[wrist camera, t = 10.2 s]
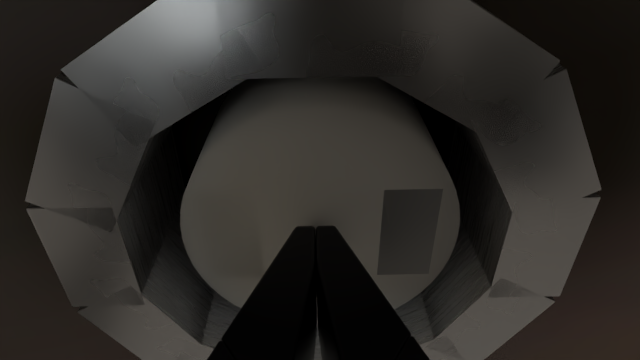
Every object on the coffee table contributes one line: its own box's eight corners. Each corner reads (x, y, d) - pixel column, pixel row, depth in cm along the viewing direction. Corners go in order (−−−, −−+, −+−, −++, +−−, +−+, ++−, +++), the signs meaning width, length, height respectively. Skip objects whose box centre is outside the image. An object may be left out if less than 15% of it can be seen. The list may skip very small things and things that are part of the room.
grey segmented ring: (161, 294, 15) (120, 407, 12) (55, -58, 9) (-87, -29, 6) (472, 287, 15) (516, 398, 12) (562, -66, 9) (699, -41, 6)
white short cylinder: (226, 238, 14) (203, 329, 11) (194, 51, 11) (151, 111, 8) (413, 234, 14) (439, 324, 11) (438, 47, 11) (485, 106, 8)
